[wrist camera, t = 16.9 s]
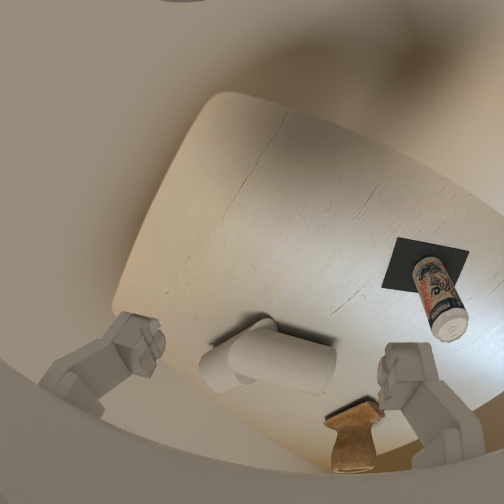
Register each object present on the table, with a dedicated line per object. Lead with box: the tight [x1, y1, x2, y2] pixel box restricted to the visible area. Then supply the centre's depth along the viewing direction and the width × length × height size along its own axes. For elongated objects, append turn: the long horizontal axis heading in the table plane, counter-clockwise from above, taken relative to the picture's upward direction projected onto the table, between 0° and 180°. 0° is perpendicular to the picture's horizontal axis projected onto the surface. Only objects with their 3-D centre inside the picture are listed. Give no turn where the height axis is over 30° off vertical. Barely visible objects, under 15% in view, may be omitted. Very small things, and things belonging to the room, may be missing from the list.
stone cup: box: [324, 401, 385, 473], centre depth 49 cm, size 15×12×15 cm
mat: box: [382, 238, 469, 293], centre depth 35 cm, size 12×8×1 cm, turn 88°
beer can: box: [413, 257, 469, 343], centre depth 29 cm, size 5×5×12 cm
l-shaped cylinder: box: [199, 318, 336, 395], centre depth 45 cm, size 18×11×20 cm
